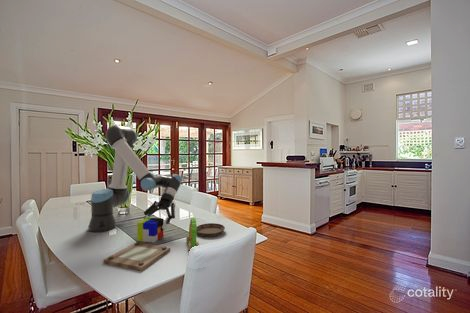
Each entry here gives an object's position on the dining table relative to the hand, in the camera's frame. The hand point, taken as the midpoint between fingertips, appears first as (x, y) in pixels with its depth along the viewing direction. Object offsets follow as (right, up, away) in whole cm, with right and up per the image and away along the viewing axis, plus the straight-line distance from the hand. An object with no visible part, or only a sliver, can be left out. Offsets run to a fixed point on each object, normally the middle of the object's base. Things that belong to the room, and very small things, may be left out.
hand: (152, 227), depth 130 cm
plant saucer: (+32, -6, +8) cm, 33 cm away
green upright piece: (+25, -6, -13) cm, 29 cm away
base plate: (+2, -6, -24) cm, 25 cm away
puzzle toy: (0, -6, -2) cm, 6 cm away
